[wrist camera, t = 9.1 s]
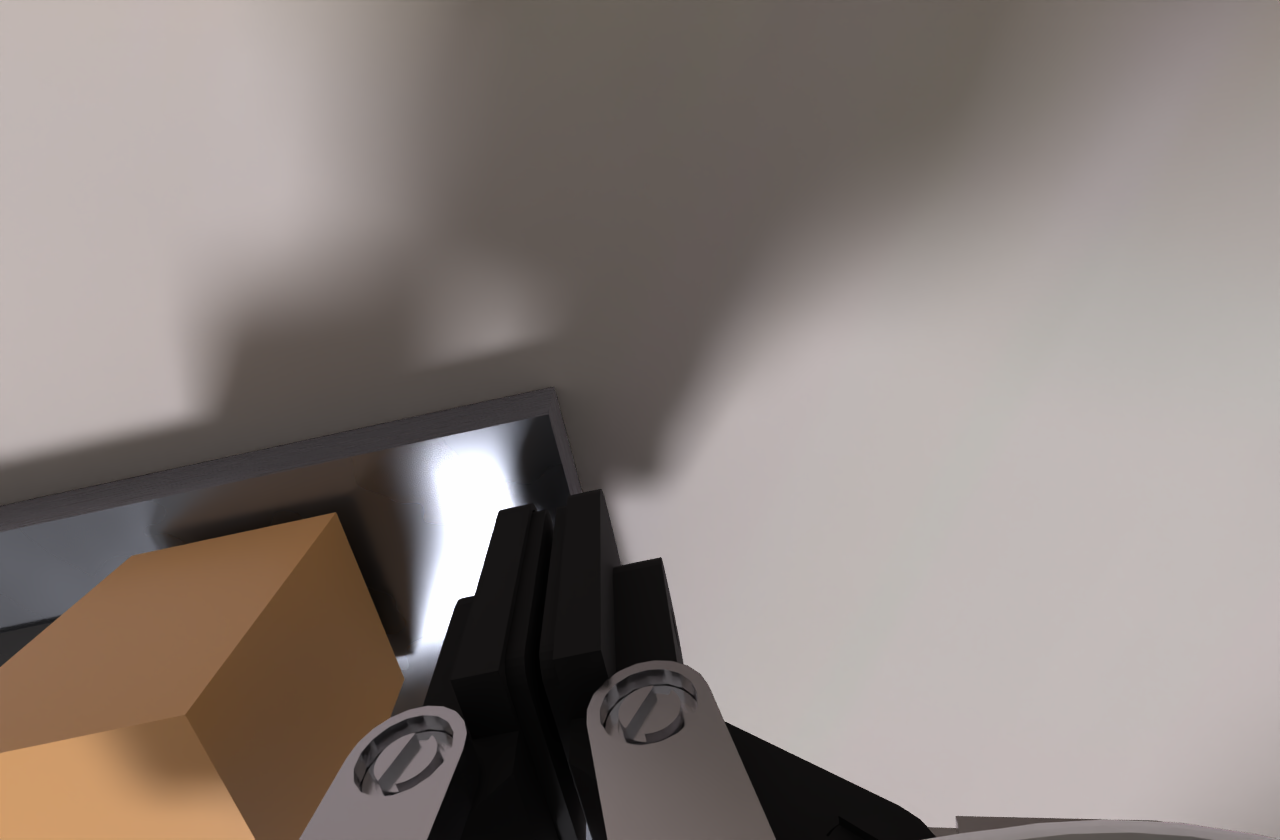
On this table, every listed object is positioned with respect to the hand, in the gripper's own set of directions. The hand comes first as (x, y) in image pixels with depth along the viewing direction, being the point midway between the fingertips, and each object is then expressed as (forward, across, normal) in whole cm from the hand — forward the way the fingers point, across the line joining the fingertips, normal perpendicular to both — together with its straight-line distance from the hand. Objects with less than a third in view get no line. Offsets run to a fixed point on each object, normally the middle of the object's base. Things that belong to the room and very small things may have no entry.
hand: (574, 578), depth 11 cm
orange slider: (+1, +5, 0) cm, 5 cm away
